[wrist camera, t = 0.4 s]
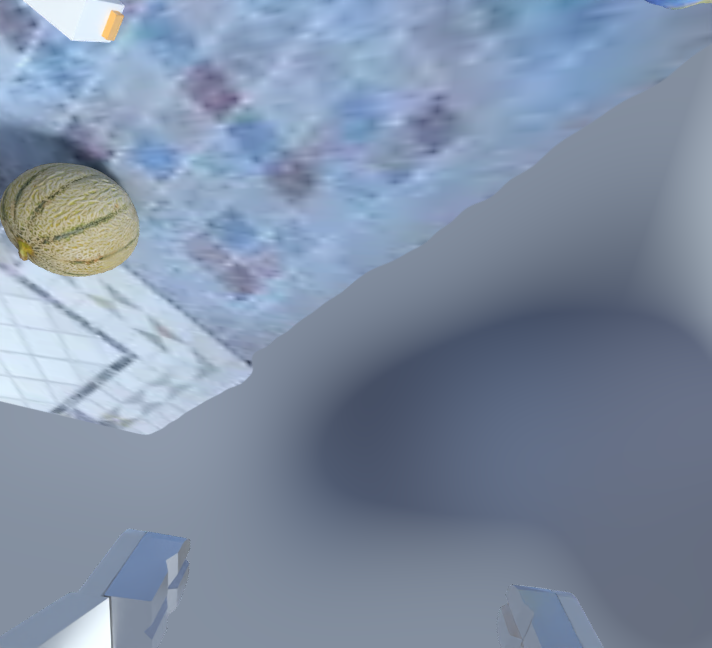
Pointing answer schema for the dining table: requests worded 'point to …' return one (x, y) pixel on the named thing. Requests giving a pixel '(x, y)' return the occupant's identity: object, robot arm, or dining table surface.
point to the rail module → (82, 17)
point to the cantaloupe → (69, 219)
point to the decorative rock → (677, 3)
